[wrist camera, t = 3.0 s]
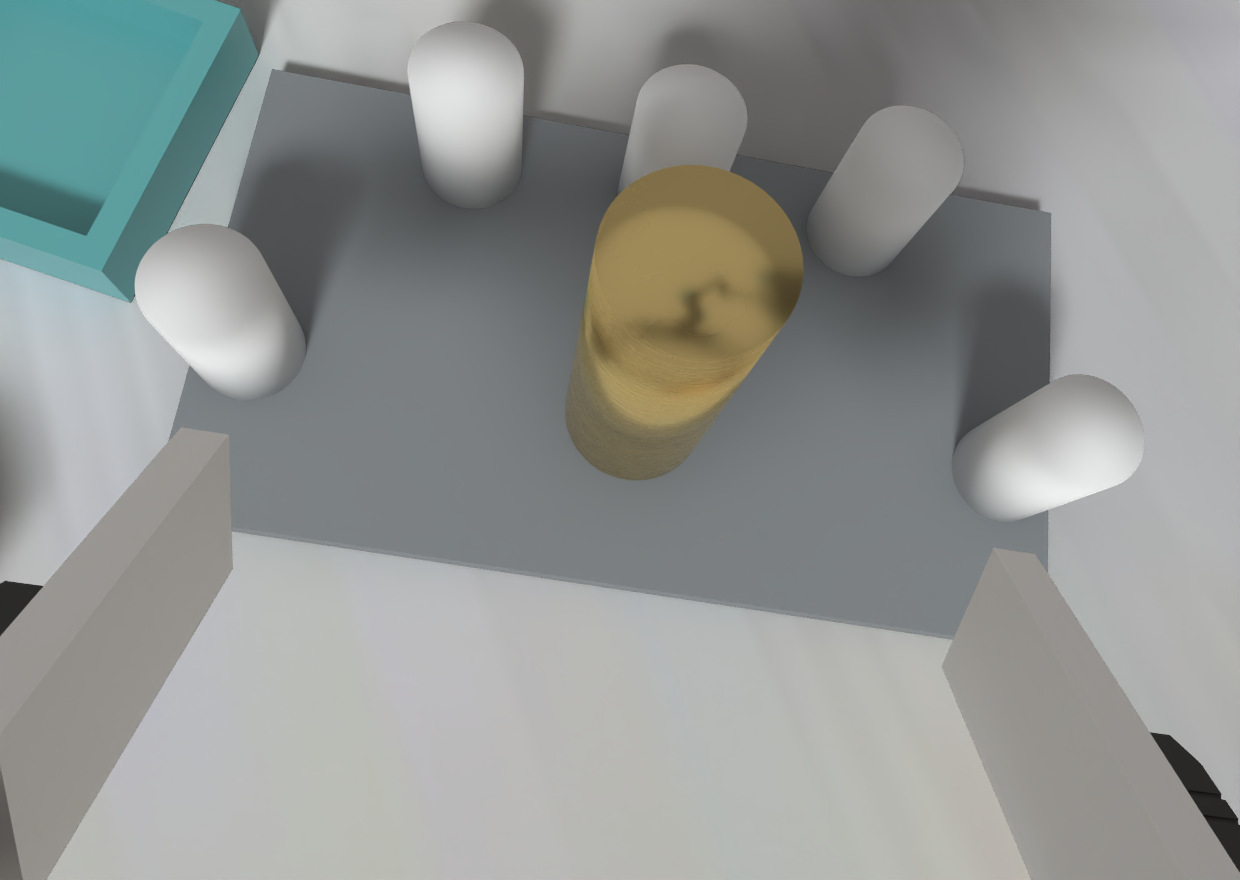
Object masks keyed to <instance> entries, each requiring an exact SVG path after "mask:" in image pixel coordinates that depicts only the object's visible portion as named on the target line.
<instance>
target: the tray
mask: <svg viewBox="0 0 1240 880" xmlns="http://www.w3.org/2000/svg"><path fill="white" fill-rule="evenodd" d="M258 56H259V55H258V52H257V50H256V47H255V44H254V42H253V39H252V37H251V34H250V31H249V29H248V26H247V24H246V21H245V18H244V16H243V13H242V11H241V9H239V8H236V7H233V6H230V5H228V4H225V3H222V2H219V1H216V0H0V258H1V259H4V260H7V261H10V262H13V263H16V264H18V265H21V266H24V267H27V268H30V269H33V270H36V271H39V272H42V273H45V274H48V275H51V276H54V277H57V278H60V279H63V280H66V281H69V282H71V283H74V284H77V285H80V286H83V287H86V288H89V289H92V290H95V291H98V292H101V293H104V294H107V295H110V296H113V297H116V298H119V299H122V300H125V301H127V302H130V303H131V301H132V299H133V297H134V295H135V277H136V272H137V269H138V266H139V264H140V262H141V260H142V258H143V256H144V255H145V254H146V252H147V251H148V250H149V248H150V247H151V246H152V245H153V244H154V243H155V242H157V241H158V240H159V239H160V238H162V237H163V236H165V235H166V234H167V232H168V230H169V228H170V226H171V224H172V222H173V220H174V218H175V216H176V214H177V212H178V210H179V208H180V207H181V205H182V203H183V201H184V199H185V197H186V195H187V193H188V191H189V189H190V187H191V185H192V183H193V181H194V179H195V178H196V176H197V174H198V172H199V170H200V168H201V166H202V164H203V162H204V160H205V158H206V156H207V154H208V152H209V150H210V149H211V147H212V145H213V143H214V141H215V139H216V137H217V135H218V133H219V131H220V129H221V127H222V125H223V123H224V121H225V120H226V118H227V116H228V114H229V112H230V110H231V108H232V106H233V104H234V102H235V100H236V98H237V96H238V94H239V92H240V91H241V89H242V87H243V85H244V83H245V81H246V79H247V77H248V75H249V73H250V71H251V69H252V67H253V65H254V63H255V62H256V60H257V58H258Z"/></svg>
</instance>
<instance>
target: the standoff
mask: <svg viewBox="0 0 1240 880" xmlns="http://www.w3.org/2000/svg"><path fill="white" fill-rule="evenodd" d="M803 270H804V268H803V256H802V251H801V246H800V243H799V240H798V237H797V234H796V232H795V230H794V228H793V226H792V224H791V222H790V220H789V218H788V217H787V215H786V214H785V213H784V211H783V210H782V208H781V207H780V206H779V205H778V204H777V203H776V202H775V200H774V199H773V198H772V197H770V196H769V195H768V194H767V193H766V192H765V191H764V190H762V189H761V188H760V187H758V186H757V185H755V184H754V183H752V182H751V181H749V180H747V179H745V178H743V177H741V176H739V175H737V174H734V173H732V172H729V171H726V170H723V169H719V168H715V167H709V166H703V165H682V166H673V167H668V168H663V169H660V170H657V171H654V172H651V173H649V174H647V175H645V176H643V177H641V178H639V179H638V180H636V181H635V182H633V183H632V184H630V185H629V186H628V187H627V188H625V189H624V190H623V191H622V192H621V193H620V194H619V195H618V196H617V197H616V198H615V200H614V201H613V202H612V203H611V205H610V206H609V208H608V209H607V211H606V213H605V214H604V217H603V219H602V221H601V223H600V226H599V230H598V233H597V237H596V242H595V247H594V253H593V258H592V264H591V269H590V274H589V280H588V285H587V291H586V296H585V301H584V307H583V312H582V317H581V323H580V328H579V334H578V339H577V344H576V350H575V355H574V361H573V366H572V371H571V377H570V382H569V388H568V393H567V398H566V406H565V418H566V425H567V429H568V432H569V435H570V437H571V440H572V442H573V444H574V445H575V447H576V449H577V450H578V451H579V453H580V454H581V455H582V456H583V457H584V458H585V459H586V460H587V461H588V462H589V463H590V464H591V465H593V466H594V467H595V468H597V469H598V470H600V471H602V472H604V473H606V474H608V475H610V476H613V477H616V478H620V479H625V480H648V479H653V478H656V477H660V476H662V475H665V474H667V473H669V472H670V471H672V470H674V469H675V468H677V467H678V466H679V465H680V464H682V463H683V462H684V461H685V460H686V459H687V458H688V456H689V455H690V454H691V452H692V451H693V449H694V448H695V447H696V445H697V444H698V443H699V441H700V440H701V438H702V437H703V436H704V434H705V433H706V432H707V430H708V429H709V427H710V426H711V425H712V423H713V422H714V420H715V419H716V418H717V416H718V415H719V414H720V412H721V411H722V409H723V408H724V407H725V405H726V404H727V403H728V401H729V400H730V398H731V397H732V396H733V394H734V393H735V391H736V390H737V389H738V387H739V386H740V385H741V383H742V382H743V380H744V379H745V378H746V376H747V375H748V374H749V372H750V371H751V369H752V368H753V367H754V365H755V364H756V363H757V361H758V360H759V358H760V357H761V356H762V354H763V353H764V351H765V350H766V349H767V347H768V346H769V345H770V343H771V342H772V340H773V339H774V338H775V336H776V335H777V334H778V332H779V331H780V329H781V328H782V327H783V325H784V324H785V322H786V321H787V320H788V318H789V317H790V315H791V313H792V312H793V310H794V308H795V306H796V304H797V301H798V298H799V296H800V292H801V288H802V283H803Z"/></svg>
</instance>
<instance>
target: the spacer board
mask: <svg viewBox="0 0 1240 880" xmlns="http://www.w3.org/2000/svg"><path fill="white" fill-rule="evenodd" d="M407 74H408V80H409V87H410V93H411V95H410V94H404V93H399V92H394V91H388V90H383V89H377V88H372V87H366V86H361V85H356V84H350V83H345V82H339V81H334V80H329V79H323V78H318V77H312V76H307V75H301V74H296V73H291V72H285V71H280V70H274V69H272V71H271V75H270V79H269V82H268V86H267V89H266V93H265V97H264V100H263V104H262V107H261V111H260V115H259V118H258V122H257V125H256V129H255V133H254V136H253V140H252V143H251V147H250V150H249V154H248V158H247V161H246V165H245V168H244V172H243V176H242V179H241V183H240V186H239V190H238V194H237V197H236V201H235V204H234V208H233V212H232V215H231V219H230V222H229V226H228V228H227V227H224V226H220V225H213V224H197V225H190V226H186V227H182V228H180V229H177V230H174V231H172V232H170V233H168V234H167V235H165V236H163V237H162V238H160V239H159V240H158V241H157V242H155V243H154V244H153V245H152V246H151V247H150V248H149V250H148V251H147V252H146V254H145V255H144V256H143V258H142V260H141V262H140V264H139V266H138V269H137V272H136V277H135V295H136V300H137V303H138V305H139V308H140V310H141V312H142V313H143V315H144V316H145V317H146V319H147V320H148V321H149V322H150V323H151V324H152V325H153V327H154V328H155V329H156V330H157V331H158V332H159V333H160V334H161V335H162V336H163V337H164V338H165V339H166V340H167V341H168V343H169V344H170V345H171V346H172V347H173V348H174V349H175V350H176V351H177V352H178V353H179V354H180V355H181V356H182V357H183V359H184V360H185V361H186V362H187V363H188V364H189V365H190V366H189V370H188V373H187V377H186V380H185V384H184V388H183V391H182V395H181V398H180V402H179V406H178V409H177V413H176V416H175V420H174V423H173V427H172V431H171V434H170V438H169V441H170V439H171V438H172V437H173V436H174V435H175V434H176V433H177V431H178V430H179V429H180V428H181V427H182V428H189V429H195V430H202V431H209V432H216V433H222V434H229V462H230V497H231V531H235V532H242V533H249V534H255V535H262V536H269V537H275V538H282V539H288V540H295V541H302V542H308V543H315V544H322V545H328V546H335V547H342V548H348V549H355V550H362V551H368V552H375V553H382V554H388V555H395V556H401V557H408V558H415V559H421V560H428V561H435V562H441V563H448V564H455V565H461V566H468V567H475V568H481V569H488V570H495V571H501V572H508V573H514V574H521V575H528V576H534V577H541V578H548V579H554V580H561V581H568V582H574V583H581V584H588V585H594V586H601V587H608V588H614V589H621V590H628V591H634V592H641V593H647V594H654V595H661V596H667V597H674V598H681V599H687V600H694V601H701V602H707V603H714V604H721V605H727V606H734V607H741V608H747V609H754V610H760V611H767V612H774V613H780V614H787V615H794V616H800V617H807V618H814V619H820V620H827V621H834V622H840V623H847V624H854V625H860V626H867V627H873V628H880V629H887V630H893V631H900V632H907V633H913V634H920V635H927V636H933V637H940V638H947V639H954V637H955V635H956V632H957V630H958V628H959V626H960V623H961V621H962V619H963V616H964V614H965V612H966V609H967V607H968V605H969V603H970V600H971V598H972V596H973V593H974V591H975V589H976V587H977V584H978V582H979V580H980V577H981V575H982V573H983V571H984V568H985V566H986V564H987V561H988V559H989V557H990V555H991V552H992V550H993V548H998V549H1005V550H1012V551H1019V552H1025V553H1032V554H1036V556H1037V557H1038V559H1039V561H1040V562H1041V564H1042V565H1043V567H1044V568H1045V570H1046V571H1047V573H1048V510H1049V509H1052V508H1055V507H1058V506H1060V505H1063V504H1066V503H1069V502H1072V501H1074V500H1077V499H1080V498H1083V497H1085V496H1088V495H1091V494H1094V493H1096V492H1099V491H1102V490H1105V489H1108V488H1110V487H1113V486H1116V485H1118V484H1120V483H1122V482H1124V481H1125V480H1126V479H1128V478H1129V477H1130V476H1131V475H1132V474H1133V473H1134V472H1135V470H1136V469H1137V467H1138V465H1139V464H1140V462H1141V459H1142V456H1143V451H1144V441H1145V440H1144V431H1143V426H1142V423H1141V420H1140V417H1139V415H1138V413H1137V411H1136V409H1135V408H1134V406H1133V404H1132V403H1131V402H1130V401H1129V399H1128V398H1127V397H1126V396H1125V395H1124V394H1123V393H1122V392H1121V391H1120V390H1118V389H1117V388H1116V387H1115V386H1113V385H1112V384H1110V383H1108V382H1106V381H1104V380H1102V379H1099V378H1097V377H1093V376H1089V375H1069V376H1064V377H1061V378H1059V379H1057V380H1055V381H1053V382H1051V383H1049V376H1050V271H1051V213H1049V212H1043V211H1038V210H1032V209H1027V208H1021V207H1016V206H1011V205H1005V204H1000V203H994V202H989V201H984V200H978V199H973V198H967V197H962V196H956V195H951V193H952V191H953V190H954V189H955V188H956V187H957V185H958V184H959V182H960V180H961V178H962V175H963V171H964V154H963V149H962V146H961V144H960V141H959V139H958V137H957V136H956V134H955V133H954V131H953V130H952V129H951V127H950V126H949V125H948V124H947V123H946V122H944V121H943V120H942V119H941V118H940V117H938V116H936V115H935V114H933V113H931V112H929V111H927V110H925V109H922V108H919V107H915V106H908V105H897V106H891V107H887V108H884V109H881V110H879V111H878V112H876V113H874V114H873V115H872V116H870V117H869V118H868V119H867V120H866V122H865V123H864V125H863V126H862V128H861V129H860V131H859V132H858V134H857V136H856V137H855V139H854V141H853V142H852V144H851V146H850V147H849V149H848V150H847V152H846V154H845V155H844V157H843V159H842V160H841V162H840V163H839V165H838V167H837V168H836V170H835V172H834V173H832V172H827V171H821V170H816V169H810V168H805V167H799V166H794V165H789V164H783V163H778V162H772V161H767V160H762V159H756V158H751V157H745V156H740V155H736V154H737V152H738V149H739V147H740V145H741V142H742V140H743V137H744V135H745V132H746V129H747V124H748V114H747V108H746V104H745V102H744V99H743V97H742V95H741V94H740V92H739V91H738V89H737V88H736V87H735V85H734V84H733V83H732V82H731V81H730V80H728V79H727V78H726V77H725V76H723V75H722V74H720V73H718V72H716V71H714V70H712V69H710V68H707V67H704V66H700V65H693V64H680V65H674V66H670V67H667V68H664V69H662V70H660V71H658V72H656V73H655V74H654V75H652V76H651V77H650V78H649V79H648V80H647V81H646V82H645V83H644V85H643V86H642V88H641V90H640V92H639V94H638V98H637V102H636V107H635V111H634V116H633V121H632V125H631V130H630V135H626V134H621V133H615V132H610V131H605V130H599V129H594V128H588V127H583V126H578V125H572V124H567V123H561V122H556V121H550V120H545V119H540V118H534V117H529V116H523V95H524V67H523V62H522V59H521V56H520V54H519V52H518V50H517V49H516V47H515V46H514V45H513V43H512V42H511V41H510V40H509V39H508V38H507V37H506V36H504V35H503V34H502V33H500V32H499V31H497V30H495V29H493V28H491V27H489V26H486V25H483V24H479V23H475V22H452V23H447V24H444V25H441V26H438V27H436V28H434V29H432V30H430V31H429V32H427V33H426V34H425V35H424V36H422V37H421V38H420V39H419V40H418V41H417V43H416V44H415V46H414V47H413V49H412V51H411V53H410V56H409V59H408V65H407ZM682 165H703V166H709V167H715V168H719V169H723V170H726V171H729V172H732V173H734V174H737V175H739V176H741V177H743V178H745V179H747V180H749V181H751V182H752V183H754V184H755V185H757V186H758V187H760V188H761V189H762V190H764V191H765V192H766V193H767V194H768V195H769V196H770V197H772V198H773V199H774V200H775V202H776V203H777V204H778V205H779V206H780V207H781V208H782V210H783V211H784V213H785V214H786V215H787V217H788V218H789V220H790V222H791V224H792V226H793V228H794V230H795V232H796V234H797V237H798V240H799V243H800V246H801V251H802V256H803V268H804V270H803V283H802V288H801V292H800V296H799V298H798V301H797V304H796V306H795V308H794V310H793V312H792V313H791V315H790V317H789V318H788V320H787V321H786V322H785V324H784V325H783V327H782V328H781V329H780V331H779V332H778V334H777V335H776V336H775V338H774V339H773V340H772V342H771V343H770V345H769V346H768V347H767V349H766V350H765V351H764V353H763V354H762V356H761V357H760V358H759V360H758V361H757V363H756V364H755V365H754V367H753V368H752V369H751V371H750V372H749V374H748V375H747V376H746V378H745V379H744V380H743V382H742V383H741V385H740V386H739V387H738V389H737V390H736V391H735V393H734V394H733V396H732V397H731V398H730V400H729V401H728V403H727V404H726V405H725V407H724V408H723V409H722V411H721V412H720V414H719V415H718V416H717V418H716V419H715V420H714V422H713V423H712V425H711V426H710V427H709V429H708V430H707V432H706V433H705V434H704V436H703V437H702V438H701V440H700V441H699V443H698V444H697V445H696V447H695V448H694V449H693V451H692V452H691V454H690V455H689V456H688V458H687V459H686V460H685V461H684V462H683V463H682V464H680V465H679V466H678V467H677V468H675V469H674V470H672V471H670V472H669V473H667V474H665V475H662V476H660V477H656V478H653V479H648V480H625V479H620V478H616V477H613V476H610V475H608V474H606V473H604V472H602V471H600V470H598V469H597V468H595V467H594V466H593V465H591V464H590V463H589V462H588V461H587V460H586V459H585V458H584V457H583V456H582V455H581V454H580V453H579V451H578V450H577V449H576V447H575V445H574V444H573V442H572V440H571V437H570V435H569V432H568V429H567V425H566V418H565V406H566V398H567V393H568V388H569V382H570V377H571V371H572V366H573V361H574V355H575V350H576V344H577V339H578V334H579V328H580V323H581V317H582V312H583V307H584V301H585V296H586V291H587V285H588V280H589V274H590V269H591V264H592V258H593V253H594V247H595V242H596V237H597V233H598V230H599V226H600V223H601V221H602V219H603V217H604V214H605V213H606V211H607V209H608V208H609V206H610V205H611V203H612V202H613V201H614V200H615V198H616V197H617V196H618V195H619V194H620V193H621V192H622V191H623V190H624V189H625V188H627V187H628V186H629V185H630V184H632V183H633V182H635V181H636V180H638V179H639V178H641V177H643V176H645V175H647V174H649V173H651V172H654V171H657V170H660V169H663V168H668V167H673V166H682ZM169 441H168V442H169Z"/></svg>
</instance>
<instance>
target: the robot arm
mask: <svg viewBox="0 0 1240 880" xmlns="http://www.w3.org/2000/svg"><path fill="white" fill-rule="evenodd" d="M232 569H233V566H232V532H231V497H230V462H229V434H222V433H216V432H209V431H202V430H195V429H189V428H182V427H181V428H180V429H179V430H178V431H177V433H176V434H175V435H174V436H173V437H172V438H171V439H170V441H169V442H168V443H167V444H166V445H165V446H164V448H163V449H162V450H161V451H160V452H159V453H158V455H157V456H156V457H155V458H154V459H153V460H152V461H151V463H150V464H149V465H148V466H147V467H146V468H145V470H144V471H143V472H142V473H141V474H140V475H139V476H138V478H137V479H136V480H135V481H134V482H133V483H132V485H131V486H130V487H129V488H128V489H127V490H126V492H125V493H124V494H123V495H122V496H121V497H120V498H119V500H118V501H117V502H116V503H115V504H114V505H113V507H112V508H111V509H110V510H109V511H108V512H107V513H106V515H105V516H104V517H103V518H102V519H101V520H100V522H99V523H98V524H97V525H96V526H95V527H94V528H93V530H92V531H91V532H90V533H89V534H88V535H87V537H86V538H85V539H84V540H83V541H82V542H81V544H80V545H79V546H78V547H77V548H76V549H75V550H74V552H73V553H72V554H71V555H70V556H69V557H68V559H67V560H66V561H65V562H64V563H63V564H62V565H61V567H60V568H59V569H58V570H57V571H56V572H55V574H54V575H53V576H52V577H51V578H50V579H49V581H48V582H47V583H46V584H45V585H44V586H39V585H31V584H24V583H16V582H9V581H4V582H2V583H1V584H0V880H46V879H47V878H48V876H49V874H50V873H51V871H52V869H53V868H54V866H55V864H56V863H57V861H58V859H59V858H60V856H61V854H62V853H63V851H64V849H65V848H66V846H67V844H68V843H69V841H70V839H71V838H72V836H73V834H74V833H75V831H76V829H77V828H78V826H79V824H80V823H81V821H82V819H83V818H84V816H85V814H86V813H87V811H88V809H89V808H90V806H91V804H92V803H93V801H94V799H95V798H96V796H97V794H98V793H99V791H100V789H101V788H102V786H103V784H104V783H105V781H106V779H107V778H108V776H109V774H110V773H111V771H112V769H113V768H114V766H115V764H116V763H117V761H118V759H119V758H120V756H121V754H122V753H123V751H124V749H125V748H126V746H127V744H128V743H129V741H130V739H131V738H132V736H133V734H134V733H135V731H136V729H137V728H138V726H139V724H140V723H141V721H142V719H143V718H144V716H145V714H146V713H147V711H148V709H149V708H150V706H151V704H152V703H153V701H154V699H155V698H156V696H157V694H158V692H159V691H160V689H161V687H162V686H163V684H164V682H165V681H166V679H167V677H168V676H169V674H170V672H171V671H172V669H173V667H174V666H175V664H176V662H177V661H178V659H179V657H180V656H181V654H182V652H183V651H184V649H185V647H186V646H187V644H188V642H189V641H190V639H191V637H192V636H193V634H194V632H195V631H196V629H197V627H198V626H199V624H200V622H201V621H202V619H203V617H204V616H205V614H206V612H207V611H208V609H209V607H210V606H211V604H212V602H213V601H214V599H215V597H216V596H217V594H218V592H219V591H220V589H221V587H222V586H223V584H224V582H225V581H226V579H227V577H228V576H229V574H230V572H231V571H232ZM942 669H943V671H944V673H945V676H946V678H947V680H948V683H949V685H950V688H951V690H952V692H953V695H954V697H955V699H956V702H957V704H958V707H959V709H960V711H961V714H962V716H963V718H964V721H965V723H966V726H967V728H968V730H969V733H970V735H971V737H972V740H973V742H974V745H975V747H976V749H977V752H978V754H979V756H980V759H981V761H982V764H983V766H984V768H985V771H986V773H987V775H988V778H989V780H990V783H991V785H992V787H993V790H994V792H995V794H996V797H997V799H998V802H999V804H1000V806H1001V809H1002V811H1003V813H1004V816H1005V818H1006V821H1007V823H1008V825H1009V828H1010V830H1011V832H1012V835H1013V837H1014V840H1015V842H1016V844H1017V847H1018V849H1019V851H1020V854H1021V856H1022V859H1023V861H1024V863H1025V866H1026V868H1027V870H1028V873H1029V875H1030V878H1031V880H1240V825H1239V824H1238V818H1237V816H1236V815H1235V813H1234V812H1233V811H1232V809H1231V808H1230V806H1229V805H1228V803H1227V802H1226V800H1222V799H1221V793H1220V791H1219V790H1218V788H1217V787H1216V785H1215V784H1214V782H1213V781H1212V780H1211V778H1210V777H1209V775H1208V774H1207V772H1206V771H1205V769H1204V768H1203V766H1202V765H1201V763H1199V762H1198V761H1197V760H1196V759H1195V758H1194V757H1193V756H1192V755H1191V754H1190V753H1189V752H1187V751H1186V750H1185V749H1184V748H1183V747H1182V746H1181V745H1180V744H1179V743H1178V742H1177V741H1175V740H1174V739H1173V738H1172V737H1171V736H1170V735H1165V734H1158V733H1150V732H1149V731H1148V729H1147V727H1146V726H1145V724H1144V723H1143V721H1142V720H1141V718H1140V717H1139V715H1138V713H1137V712H1136V710H1135V709H1134V707H1133V706H1132V704H1131V702H1130V701H1129V699H1128V698H1127V696H1126V695H1125V693H1124V692H1123V690H1122V688H1121V687H1120V685H1119V684H1118V682H1117V681H1116V679H1115V678H1114V676H1113V674H1112V673H1111V671H1110V670H1109V668H1108V667H1107V665H1106V663H1105V662H1104V660H1103V659H1102V657H1101V656H1100V654H1099V653H1098V651H1097V649H1096V648H1095V646H1094V645H1093V643H1092V642H1091V640H1090V639H1089V637H1088V635H1087V634H1086V632H1085V631H1084V629H1083V628H1082V626H1081V625H1080V623H1079V621H1078V620H1077V618H1076V617H1075V615H1074V614H1073V612H1072V610H1071V609H1070V607H1069V606H1068V604H1067V603H1066V601H1065V600H1064V598H1063V596H1062V595H1061V593H1060V592H1059V590H1058V589H1057V587H1056V586H1055V584H1054V582H1053V581H1052V579H1051V578H1050V576H1049V575H1048V573H1047V571H1046V570H1045V568H1044V567H1043V565H1042V564H1041V562H1040V561H1039V559H1038V557H1037V556H1036V554H1032V553H1025V552H1019V551H1012V550H1005V549H998V548H993V550H992V552H991V555H990V557H989V559H988V561H987V564H986V566H985V568H984V571H983V573H982V575H981V577H980V580H979V582H978V584H977V587H976V589H975V591H974V593H973V596H972V598H971V600H970V603H969V605H968V607H967V609H966V612H965V614H964V616H963V619H962V621H961V623H960V626H959V628H958V630H957V632H956V635H955V637H954V639H953V642H952V644H951V646H950V648H949V651H948V653H947V655H946V658H945V660H944V662H943V664H942Z"/></svg>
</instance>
